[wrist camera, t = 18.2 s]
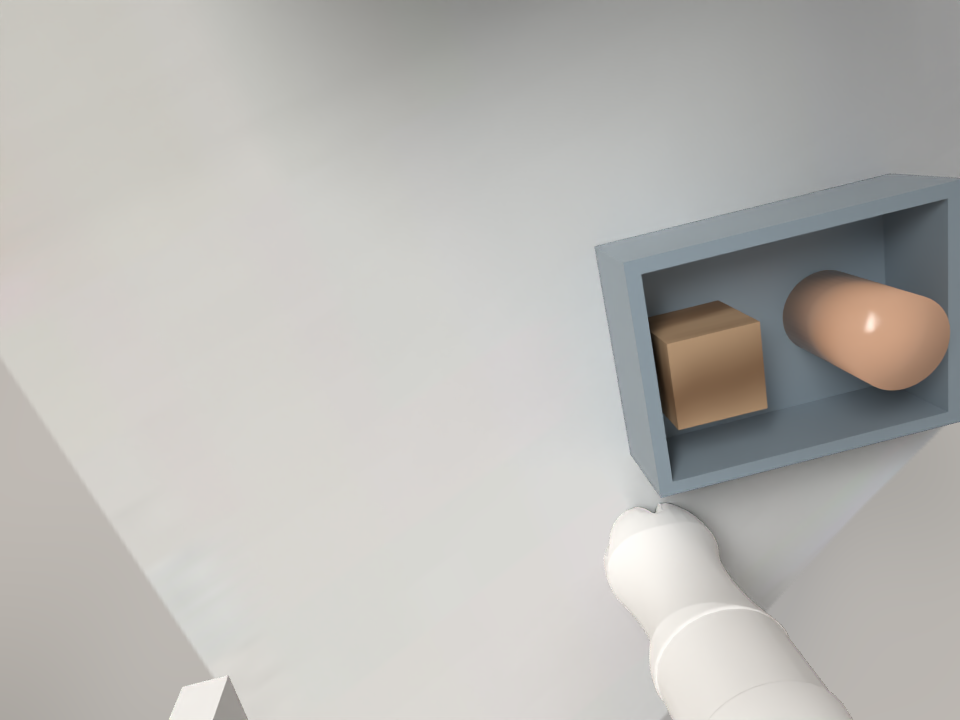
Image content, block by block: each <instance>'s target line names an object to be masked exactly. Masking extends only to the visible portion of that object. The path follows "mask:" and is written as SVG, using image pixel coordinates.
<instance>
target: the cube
mask: <svg viewBox="0 0 960 720" xmlns="http://www.w3.org/2000/svg"><path fill="white" fill-rule="evenodd" d="M648 322H649V329H650V336H651V342H652V349H653V355H654V362H655V368H656V375H657V382H658V388H659V395H660V401H661V408H662V413H663V414H664V415H665V416H666V417H667V418H668V419H669V420H670V421H671V422H672V423H673V425H674V426H675V427H676V428H677V429H678V430H681V429H686V428H690V427H694V426H698V425H702V424H706V423H710V422H714V421H718V420H722V419H726V418H730V417H734V416H738V415H742V414H746V413H750V412H754V411H758V410H762V409H766V408H768V407H767V396H766V385H765V373H764V362H763V351H762V340H761V329H760V321H758V320H756V319H754V318H752V317H750V316H748V315H746V314H744V313H742V312H740V311H738V310H736V309H734V308H732V307H731V306H729V305H727V304H725V303H723V302H721V301H719V300H717V301H713V302H709V303H705V304H701V305H697V306H693V307H689V308H684V309H680V310H676V311H672V312H668V313H664V314H660V315H656V316H652V317H648Z"/></svg>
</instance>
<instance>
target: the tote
mask: <svg viewBox="0 0 960 720" xmlns="http://www.w3.org/2000/svg"><path fill="white" fill-rule="evenodd" d="M595 251H596V257H597V263H598V269H599V274H600V280H601V286H602V292H603V297H604V303H605V309H606V315H607V321H608V326H609V332H610V338H611V344H612V349H613V355H614V361H615V367H616V373H617V378H618V384H619V390H620V396H621V402H622V407H623V413H624V419H625V425H626V430H627V436H628V442H629V448H630V454H631V456H632V457H633V459H634V460H635V462H636V463H637V464H638V466H639V467H640V469H641V470H642V472H643V473H644V474H645V476H646V477H647V479H648V480H649V482H650V483H651V484H652V486H653V487H654V489H655V490H656V492H657V493H658V494H659V496H660V497H661V498H662V497H666V496H670V495H674V494H678V493H682V492H686V491H690V490H694V489H698V488H702V487H706V486H710V485H714V484H717V483H721V482H725V481H729V480H733V479H737V478H741V477H745V476H749V475H753V474H757V473H761V472H765V471H769V470H772V469H776V468H780V467H784V466H788V465H792V464H796V463H800V462H804V461H808V460H812V459H816V458H820V457H824V456H828V455H831V454H835V453H839V452H843V451H847V450H851V449H855V448H859V447H863V446H867V445H871V444H875V443H879V442H883V441H886V440H890V439H894V438H898V437H902V436H906V435H910V434H914V433H918V432H922V431H926V430H930V429H934V428H938V427H941V426H945V425H949V424H953V423H957V422H960V178H948V177H932V176H917V175H901V174H887V175H882V176H878V177H874V178H870V179H866V180H862V181H858V182H854V183H850V184H846V185H842V186H838V187H834V188H830V189H826V190H822V191H818V192H813V193H809V194H805V195H801V196H797V197H793V198H789V199H785V200H781V201H777V202H773V203H769V204H765V205H761V206H757V207H753V208H749V209H745V210H740V211H736V212H732V213H728V214H724V215H720V216H716V217H712V218H708V219H704V220H700V221H696V222H692V223H688V224H684V225H680V226H676V227H672V228H667V229H663V230H659V231H655V232H651V233H647V234H643V235H639V236H635V237H631V238H627V239H623V240H619V241H615V242H611V243H607V244H603V245H598V246H595ZM823 270H837V271H841V272H844V273H847V274H851V275H854V276H857V277H861V278H864V279H867V280H871V281H874V282H877V283H881V284H884V285H887V286H891V287H894V288H897V289H901V290H904V291H907V292H911V293H914V294H917V295H921V296H924V297H927V298H929V299H932V300H933V301H935V302H936V303H938V304H939V305H940V306H941V307H942V309H943V310H944V311H945V313H946V315H947V317H948V320H949V324H950V340H949V345H948V348H947V351H946V353H945V355H944V357H943V359H942V361H941V362H940V364H939V365H938V366H937V368H936V369H935V370H934V371H933V372H932V373H931V374H930V375H929V376H928V377H927V378H925V379H924V380H922V381H921V382H919V383H917V384H916V385H913V386H911V387H908V388H905V389H901V390H883V389H879V388H877V387H874V386H872V385H870V384H869V383H867V382H865V381H863V380H861V379H859V378H857V377H855V376H853V375H851V374H850V373H848V372H846V371H844V370H842V369H840V368H838V367H836V366H834V365H833V364H831V363H829V362H827V361H825V360H823V359H821V358H819V357H817V356H815V355H814V354H812V353H810V352H808V351H806V350H804V349H802V348H800V347H799V346H797V345H795V344H794V343H793V342H792V341H791V340H790V339H789V337H788V336H787V334H786V332H785V329H784V326H783V309H784V305H785V303H786V300H787V298H788V296H789V294H790V293H791V291H792V290H793V289H794V287H795V286H796V285H797V284H798V283H799V282H800V281H802V280H803V279H804V278H806V277H807V276H809V275H811V274H813V273H816V272H819V271H823ZM717 300H719V301H721V302H723V303H725V304H727V305H729V306H731V307H732V308H734V309H736V310H738V311H740V312H742V313H744V314H746V315H748V316H750V317H752V318H754V319H756V320H758V321H760V329H761V340H762V351H763V362H764V373H765V385H766V396H767V407H768V408H766V409H762V410H758V411H754V412H750V413H746V414H742V415H738V416H734V417H730V418H726V419H722V420H718V421H714V422H710V423H706V424H702V425H698V426H694V427H690V428H686V429H681V430H678V429H677V428H676V427H675V426H674V425H673V423H672V422H671V421H670V420H669V419H668V418H667V417H666V416H665V415H664V414H663V413H662V408H661V401H660V395H659V388H658V382H657V375H656V368H655V362H654V355H653V349H652V342H651V336H650V329H649V322H648V317H652V316H656V315H660V314H664V313H668V312H672V311H676V310H680V309H684V308H689V307H693V306H697V305H701V304H705V303H709V302H713V301H717Z"/></svg>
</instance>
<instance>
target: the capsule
mask: <svg viewBox="0 0 960 720" xmlns="http://www.w3.org/2000/svg"><path fill="white" fill-rule="evenodd" d="M783 326H784V329H785V332H786V334H787V336H788V337H789V339H790V340H791V341H792V342H793V343H794V344H795V345H797V346H799V347H800V348H802V349H804V350H806V351H808V352H810V353H812V354H814V355H815V356H817V357H819V358H821V359H823V360H825V361H827V362H829V363H831V364H833V365H834V366H836V367H838V368H840V369H842V370H844V371H846V372H848V373H850V374H851V375H853V376H855V377H857V378H859V379H861V380H863V381H865V382H867V383H869V384H870V385H872V386H874V387H877V388H879V389H883V390H901V389H905V388H908V387H911V386H913V385H916V384H917V383H919V382H921V381H922V380H924V379H925V378H927V377H928V376H929V375H930V374H931V373H932V372H933V371H934V370H935V369H936V368H937V366H938V365H939V364H940V362H941V361H942V359H943V357H944V355H945V353H946V351H947V348H948V345H949V340H950V324H949V320H948V317H947V315H946V313H945V311H944V310H943V309H942V307H941V306H940V305H939V304H938V303H936V302H935V301H933V300H932V299H929V298H927V297H924V296H921V295H917V294H914V293H911V292H907V291H904V290H901V289H897V288H894V287H891V286H887V285H884V284H881V283H877V282H874V281H871V280H867V279H864V278H861V277H857V276H854V275H851V274H847V273H844V272H841V271H837V270H823V271H819V272H816V273H813V274H811V275H809V276H807V277H806V278H804V279H803V280H802V281H800V282H799V283H798V284H797V285H796V286H795V287H794V289H793V290H792V291H791V293H790V294H789V296H788V298H787V300H786V303H785V305H784V309H783Z"/></svg>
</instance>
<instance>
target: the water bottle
mask: <svg viewBox="0 0 960 720" xmlns="http://www.w3.org/2000/svg"><path fill="white" fill-rule="evenodd" d="M604 568H605V573H606V577H607V580H608V583H609V585H610V588H611V590H612V592H613V593H614V595H615V597H616V598H617V599H618V600H619V602H620V603H621V604H622V605H623V606H624V607H625V608H627V609H628V610H629V612H630V613H631V614H632V615H633V616H634V617H635V618H636V620H637V621H638V622H639V624H640V625H641V627H642V628H643V629H644V631H645V632H646V634H647V636H648V638H649V640H650V651H649V664H650V671H651V676H652V680H653V683H654V686H655V689H656V691H657V693H658V695H659V697H660V698H661V699H662V701H663V702H664V703H665V705H666V707H667V709H668V711H669V713H670V716H671V718H672V720H853V719H852V717H851V716H850V714H849V713H848V711H847V710H846V708H845V706H844V705H843V704H842V702H841V701H840V700H839V699H838V698H837V697H836V696H835V695H834V694H833V693H831V692H830V691H829V690H828V688H827V687H826V686H825V684H824V683H823V682H822V681H821V679H820V678H819V677H818V675H817V674H816V673H815V671H814V670H813V669H812V668H811V666H810V665H809V663H808V662H807V661H806V660H805V658H804V657H803V656H802V654H801V653H800V652H799V650H798V649H797V648H796V646H795V645H794V644H793V643H792V641H791V640H790V639H789V637H788V634H787V632H786V630H785V629H784V628H783V626H781V624H780V623H779V622H778V621H776V620H775V619H774V618H773V617H771V616H770V615H769V614H767V613H766V612H765V611H763V610H762V609H761V608H760V607H759V606H758V605H756V604H755V603H754V602H753V601H752V600H751V599H750V598H749V597H748V596H747V595H746V594H745V593H744V592H743V591H742V590H741V589H740V588H739V587H738V586H737V584H736V583H735V582H734V581H733V580H732V578H731V577H730V575H729V574H728V572H727V571H726V569H725V568H724V566H723V565H722V563H721V560H720V558H719V549H718V544H717V541H716V539H715V537H714V536H713V534H712V533H711V531H710V530H709V529H708V528H707V527H706V526H705V525H704V523H703V522H702V521H700V520H699V519H698V518H697V517H695V516H694V515H693V514H691V513H690V512H688V511H686V510H684V509H682V508H680V507H678V506H676V505H672V504H669V503H662V504H660V503H658V506H657V509H656V512H655V513H652V512H650V511H648V510H647V509H644V508H641V507H635V508H633V509H629V510H626V511H625V512H624V513H622V514H621V515H620V516H619V517H618V518H617V519H616V521H615V522H614V524H613V526H612V529H611V532H610V537H609V546H608V547H607V548H606V550H605V555H604Z"/></svg>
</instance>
